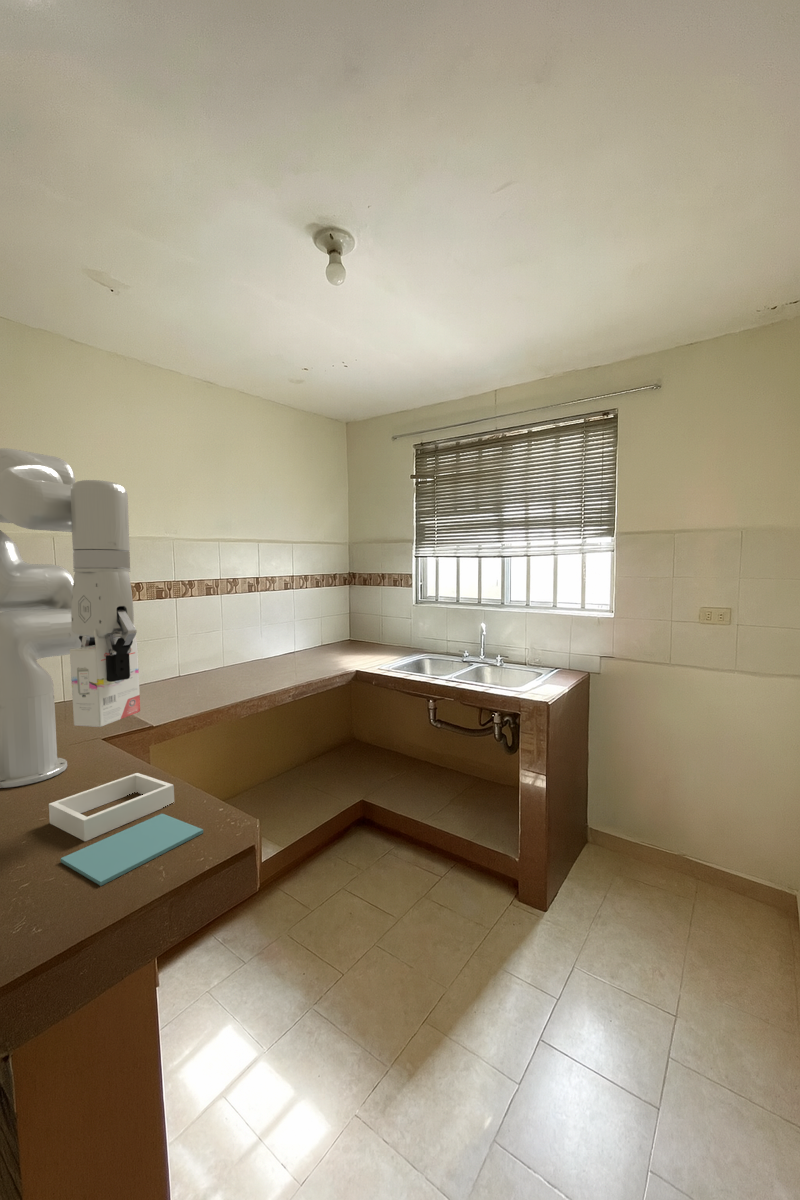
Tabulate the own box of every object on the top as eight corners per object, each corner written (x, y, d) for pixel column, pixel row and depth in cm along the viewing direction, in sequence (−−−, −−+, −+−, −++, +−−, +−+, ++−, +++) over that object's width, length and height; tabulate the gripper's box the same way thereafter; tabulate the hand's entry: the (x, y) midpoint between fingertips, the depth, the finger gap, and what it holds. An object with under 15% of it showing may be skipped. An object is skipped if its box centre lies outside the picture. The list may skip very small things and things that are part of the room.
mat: (60, 862, 63) (60, 858, 63) (162, 816, 75) (162, 813, 75) (100, 886, 58) (100, 881, 58) (203, 832, 70) (203, 829, 70)
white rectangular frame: (49, 823, 74) (48, 803, 74) (138, 789, 85) (137, 772, 85) (85, 841, 68) (83, 820, 68) (174, 802, 80) (173, 784, 79)
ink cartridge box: (115, 710, 81) (112, 622, 80) (141, 712, 80) (138, 623, 79) (71, 726, 73) (67, 628, 72) (99, 728, 72) (95, 628, 71)
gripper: (48, 563, 77) (53, 676, 77) (106, 561, 67) (111, 689, 68) (98, 564, 83) (102, 668, 84) (158, 562, 74) (161, 679, 75)
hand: (106, 676), depth 76 cm, fingers closed on ink cartridge box, 6 cm apart
